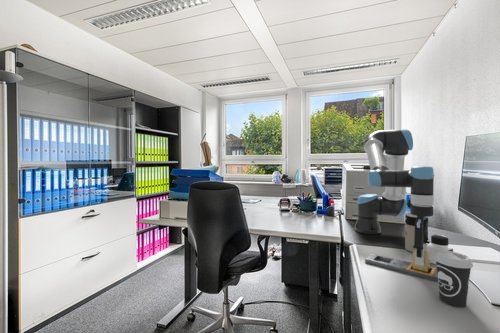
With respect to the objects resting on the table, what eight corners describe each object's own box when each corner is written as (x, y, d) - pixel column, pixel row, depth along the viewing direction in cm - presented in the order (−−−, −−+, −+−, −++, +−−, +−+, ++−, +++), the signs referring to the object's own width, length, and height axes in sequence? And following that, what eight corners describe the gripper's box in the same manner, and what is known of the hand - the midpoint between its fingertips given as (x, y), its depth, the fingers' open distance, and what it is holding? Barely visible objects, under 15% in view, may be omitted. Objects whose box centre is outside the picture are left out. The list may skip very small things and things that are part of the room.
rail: (371, 256, 116) (371, 252, 116) (441, 273, 98) (441, 269, 98) (365, 262, 109) (365, 258, 109) (438, 282, 91) (438, 277, 91)
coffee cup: (476, 314, 72) (476, 263, 72) (435, 304, 77) (435, 257, 77) (468, 298, 80) (469, 253, 80) (432, 290, 85) (432, 248, 85)
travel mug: (425, 250, 123) (425, 214, 123) (422, 254, 117) (423, 217, 117) (407, 246, 129) (407, 212, 128) (403, 250, 123) (403, 215, 122)
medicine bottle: (444, 267, 103) (444, 239, 103) (426, 261, 110) (426, 234, 109) (453, 264, 107) (453, 236, 106) (434, 258, 113) (434, 232, 113)
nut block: (415, 269, 102) (415, 249, 102) (429, 272, 99) (429, 252, 99) (412, 273, 99) (412, 252, 98) (427, 277, 95) (427, 255, 95)
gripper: (415, 200, 108) (415, 252, 108) (404, 207, 93) (404, 267, 94) (436, 202, 103) (436, 257, 103) (429, 210, 88) (428, 273, 89)
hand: (421, 261), depth 99 cm, fingers open, 7 cm apart
